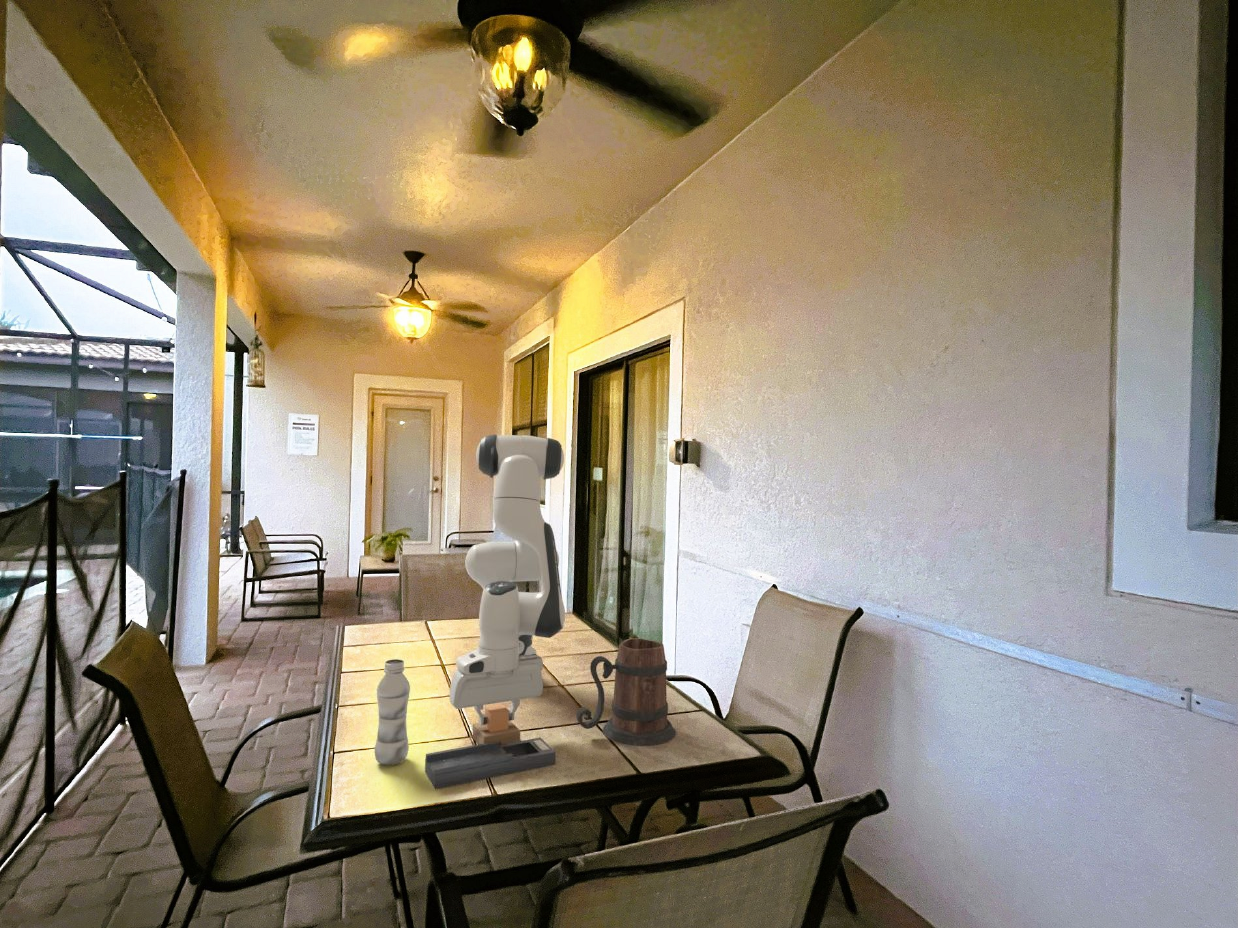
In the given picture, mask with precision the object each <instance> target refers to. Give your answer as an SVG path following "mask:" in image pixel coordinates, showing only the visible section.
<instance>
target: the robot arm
mask: <svg viewBox="0 0 1238 928" xmlns="http://www.w3.org/2000/svg"><path fill="white" fill-rule="evenodd" d="M562 447H563V446H562V444H561V442H560V441H559V440H557V439H553V438H550V437H546V438H544V437H541V436H540V437H539V436H534V435H526V434H522V435H515V434H512V435H511V434H509V435H507V434H506V435H497V434H489V435H484V436H483V437H482V438H481V439H480V442H479V443H478V445H477V448H476V452H475V458H476V464H477V467H478V470H479V471H480V472H481V473H482V474H483V475H487V476H489V478H491V479H493V478H494V477H495V476H496V482H495V489H494V494H493V496H494V497H493V504H492V505H493V509H492V512H493V515H492V516H493V521H494V523H495V526H496V527H497V529H498V530H499V531H500V532H501V533H503V534H504V535H505V536H507V537H509V538H511V539H513V540H514V541H488V542H487V541H486V542H482V543H477V544H474V545H472V546H471V547H470V548H469V550H468V551H467V553H466V556H465V561H464V562H465V563H464V566H465V570H466V573H467V574H468V575H469V577H470V579H472V580H473V581H474V582H476V583H477V584H478V585H479V586H480V587H481V588H482V595H481V598H480V605H479V615H478V628H479V632H480V634H479V639H478V644H477V646H478V647H477V648H476V649H473V650H472V651H469V652H467V653H465V654H462V655H460V656H458V657H456V659H455V665H456V668H457V669H456V670H455V671H454V672H453V674H452V676H451V682H450V687H449V688H450V689H449V703H450V704H451V706H453V707H454V708H455V709H456V710H460V709H467V708H472V707H473V709H474V711H475V712H476V714H477V715H478V723H479V724H480V725H487V724H488V722H487V720H488V716H486V714H485V713H484V714H483V712H482V711H483V710H484V706H486V705H492V704H500V703H505V702H506V703H507V702H510V703H511V705H510V707H509V709H508V710H509V721H511V722H512V721H515V715H516V714H515V713H516V712H517V710H518V708H519V707H520V704H521V703H520V702H521V700H525V699H531V698H539V697H540V696H541V695H542V693H543V691H544V686H543V685H544V684H543V675H542V671H543V665H544V663H543V662H544V660H543V658H542V656H540V655H538V654H537V650H536V649H535V648H534V647H533V637H534V636H535V637H540V638H547V639H550V638H551V639H552V637H554V636H556V635H557V634H558V633H559V632H561V630H563V628H564V625H565V621H566V608H565V605H564V601H563V596H562V588H561V580H560V579H561V578H560V571H559V566H560V557H559V556H560V555H559V553H558V550H557V546H556V540H555V534H554V531H553V528H552V525H551V524H549V523H548V522H546V521H545V519H544V517H543V515H542V511H541V510H542V509H541V500H542V499H541V495H542V493H541V492H542V491H541V490H542V489H541V488H542V487H541V479H543V480H544V481H545V480H549V479H554V478H556V477H557V476H559V474H560V472H561V470H562V468H563V466H564V463H565V453H564V449H563V448H562ZM537 581H541V587H542V590H541V591H539V592H526V591H519V588H518V585H517V584H516V583H514V582H537Z"/></svg>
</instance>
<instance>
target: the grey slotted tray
mask: <svg viewBox="0 0 1238 928" xmlns="http://www.w3.org/2000/svg"><path fill="white" fill-rule="evenodd" d="M556 753H557V752H556V750H554V749H553V748H552V747H551V746H550V745H549V744H548V743H547V742H546V741H545V740H544V739H542V738H541V737H535V738H529V739H524V740H520V741H518V742H513V743H508V744H502V745H501V741H494V742H489V743H483V744H473V745H467V746H462V747H457V748H450V749H447V750H441V751H434V752H428V753H426V754H425V760H424V772H425V774H426V776H427V778H428V780H429V782H430V783H431V785H432V787H433V789H434V790H439V789H444V788H449V787H454V786H458V785H463V784H467V783H473V782H478V781H483V780H487V779H491V778H497V777H501V776H507V775H511V774H517V773H521V772H525V771H530V770H535V769H540V768H545V767H549V766H554V765H556Z"/></svg>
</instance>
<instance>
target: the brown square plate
mask: <svg viewBox="0 0 1238 928" xmlns="http://www.w3.org/2000/svg"><path fill="white" fill-rule="evenodd" d="M472 739H473V740H474V741H475V743H476V745H478V744H483V743H489V742H494V741H501V745H502V744H508V743H513V742H518V741H521V729H519V728H518V727H517V726H516V725H515V723H513V721H512V720H511V721H508V729H505V730H499V731H494V732H490V731H489V730H488V729H487V728H486V727H485V725H480V724H479V722H475V723H472Z"/></svg>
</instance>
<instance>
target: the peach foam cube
mask: <svg viewBox="0 0 1238 928" xmlns="http://www.w3.org/2000/svg"><path fill="white" fill-rule="evenodd" d="M484 714H486V716H488V720H487V722H488V724H487V725H485V727H486V728H487V729H488V730H489V731H490V732H494V731H499V730H505V729H508V721H509V709H508V708H507V707H506V706H505V705H504V704H502V703H501V704H497V705H490V706H485V707H484Z"/></svg>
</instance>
